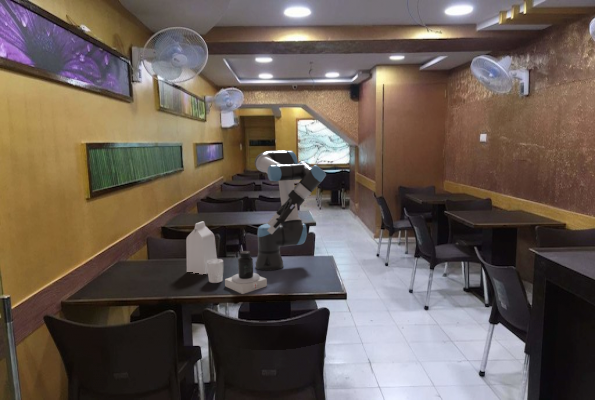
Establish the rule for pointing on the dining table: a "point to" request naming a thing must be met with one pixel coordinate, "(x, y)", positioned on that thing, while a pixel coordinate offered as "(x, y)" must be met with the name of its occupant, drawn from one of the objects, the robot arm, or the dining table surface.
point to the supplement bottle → (245, 265)
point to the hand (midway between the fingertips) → (269, 228)
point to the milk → (200, 248)
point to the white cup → (215, 270)
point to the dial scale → (245, 283)
